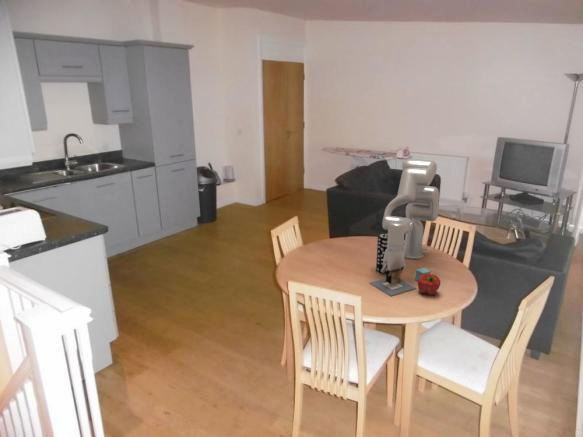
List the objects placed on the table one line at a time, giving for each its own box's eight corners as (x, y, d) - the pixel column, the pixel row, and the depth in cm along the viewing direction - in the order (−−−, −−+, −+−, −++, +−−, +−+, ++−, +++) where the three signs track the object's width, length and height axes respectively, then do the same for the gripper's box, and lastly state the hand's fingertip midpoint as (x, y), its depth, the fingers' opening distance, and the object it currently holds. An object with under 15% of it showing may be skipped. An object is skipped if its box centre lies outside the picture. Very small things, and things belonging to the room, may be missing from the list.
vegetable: (444, 297, 199) (446, 277, 196) (424, 299, 197) (426, 280, 194) (432, 287, 209) (434, 268, 206) (413, 289, 207) (414, 270, 204)
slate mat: (394, 276, 221) (394, 275, 221) (416, 288, 207) (416, 287, 207) (369, 283, 214) (369, 282, 213) (391, 296, 200) (391, 295, 200)
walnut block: (393, 278, 213) (394, 267, 211) (400, 282, 209) (401, 271, 207) (385, 280, 211) (386, 269, 209) (392, 284, 206) (393, 273, 205)
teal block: (422, 278, 219) (423, 267, 217) (429, 281, 215) (430, 271, 213) (415, 280, 217) (416, 269, 215) (422, 284, 212) (423, 273, 211)
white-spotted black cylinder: (382, 275, 222) (384, 239, 216) (372, 269, 229) (374, 235, 223) (395, 272, 226) (397, 237, 220) (385, 266, 233) (387, 232, 227)
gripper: (403, 241, 211) (400, 274, 217) (376, 247, 204) (374, 282, 209) (414, 245, 205) (411, 280, 210) (386, 252, 197) (384, 287, 203)
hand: (392, 280), depth 210 cm, fingers closed on walnut block, 4 cm apart
